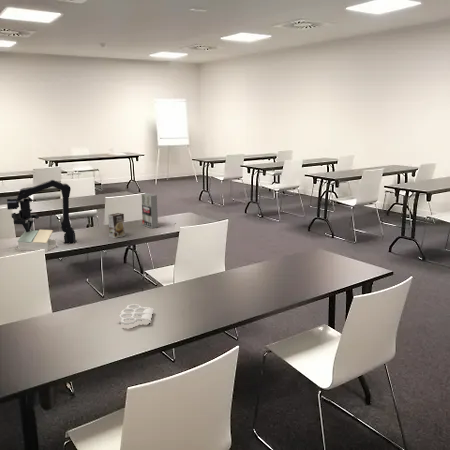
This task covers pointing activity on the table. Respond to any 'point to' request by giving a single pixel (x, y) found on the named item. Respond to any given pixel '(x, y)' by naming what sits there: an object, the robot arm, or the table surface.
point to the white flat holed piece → (145, 314)
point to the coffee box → (116, 225)
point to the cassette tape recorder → (149, 210)
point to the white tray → (37, 245)
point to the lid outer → (28, 236)
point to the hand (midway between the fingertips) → (27, 231)
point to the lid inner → (42, 236)
